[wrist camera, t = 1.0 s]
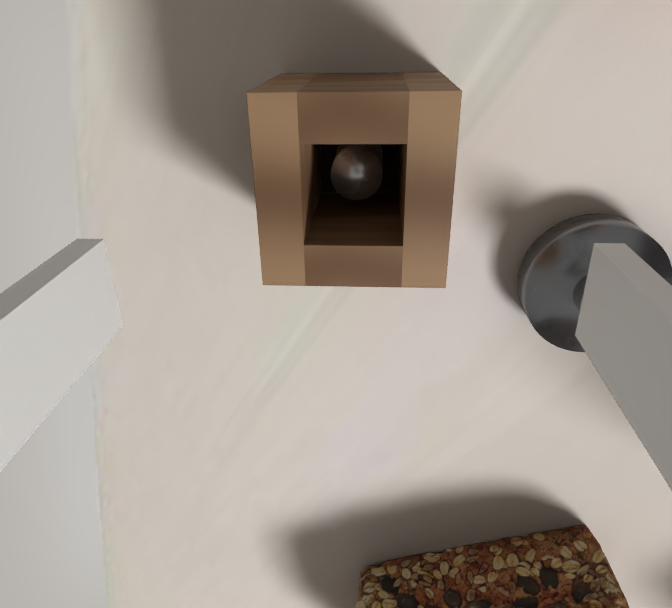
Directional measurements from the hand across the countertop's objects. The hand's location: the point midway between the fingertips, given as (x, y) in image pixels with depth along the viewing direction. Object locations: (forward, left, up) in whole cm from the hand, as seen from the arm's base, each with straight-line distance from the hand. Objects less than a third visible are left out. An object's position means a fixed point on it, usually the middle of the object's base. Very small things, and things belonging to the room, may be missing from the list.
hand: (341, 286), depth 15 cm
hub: (+7, +13, -16) cm, 22 cm away
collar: (0, 0, -16) cm, 16 cm away
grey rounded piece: (0, 0, -16) cm, 16 cm away
